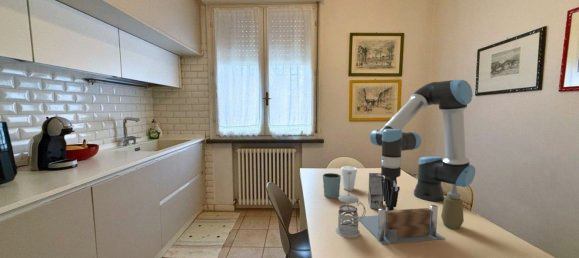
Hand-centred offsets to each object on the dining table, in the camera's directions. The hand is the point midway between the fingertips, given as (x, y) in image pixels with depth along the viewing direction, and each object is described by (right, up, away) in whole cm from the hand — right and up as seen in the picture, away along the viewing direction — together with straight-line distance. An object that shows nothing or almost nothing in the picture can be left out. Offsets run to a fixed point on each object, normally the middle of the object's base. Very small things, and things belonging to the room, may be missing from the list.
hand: (389, 220), depth 105 cm
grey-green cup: (-18, 0, +37) cm, 41 cm away
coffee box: (+2, -1, +23) cm, 23 cm away
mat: (+3, -3, -1) cm, 4 cm away
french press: (-18, -3, -5) cm, 19 cm away
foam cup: (-5, +1, +50) cm, 50 cm away
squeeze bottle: (+27, -3, 0) cm, 27 cm away
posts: (+3, -3, -10) cm, 11 cm away
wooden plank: (+3, -2, -10) cm, 10 cm away
